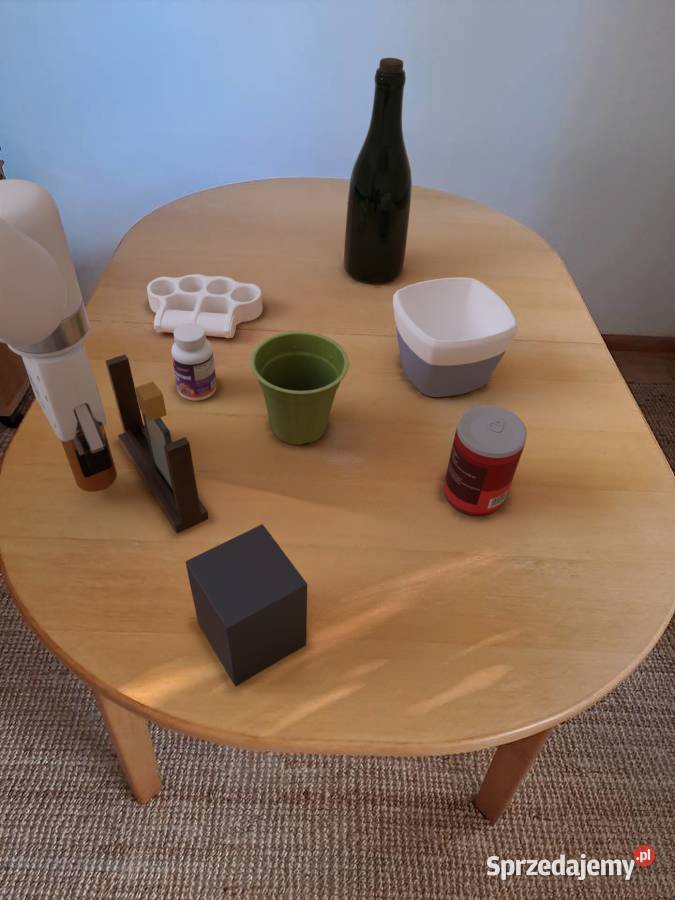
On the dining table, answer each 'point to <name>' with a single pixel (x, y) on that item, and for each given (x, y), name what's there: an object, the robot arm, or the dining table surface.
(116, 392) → the window frame
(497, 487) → the canned food
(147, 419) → the pane
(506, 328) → the bowl
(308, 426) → the plant pot
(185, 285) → the white compartment tray
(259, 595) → the stand
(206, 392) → the pill bottle
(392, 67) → the wine bottle
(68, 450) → the orange-brown cylinder
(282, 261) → the dining table surface
